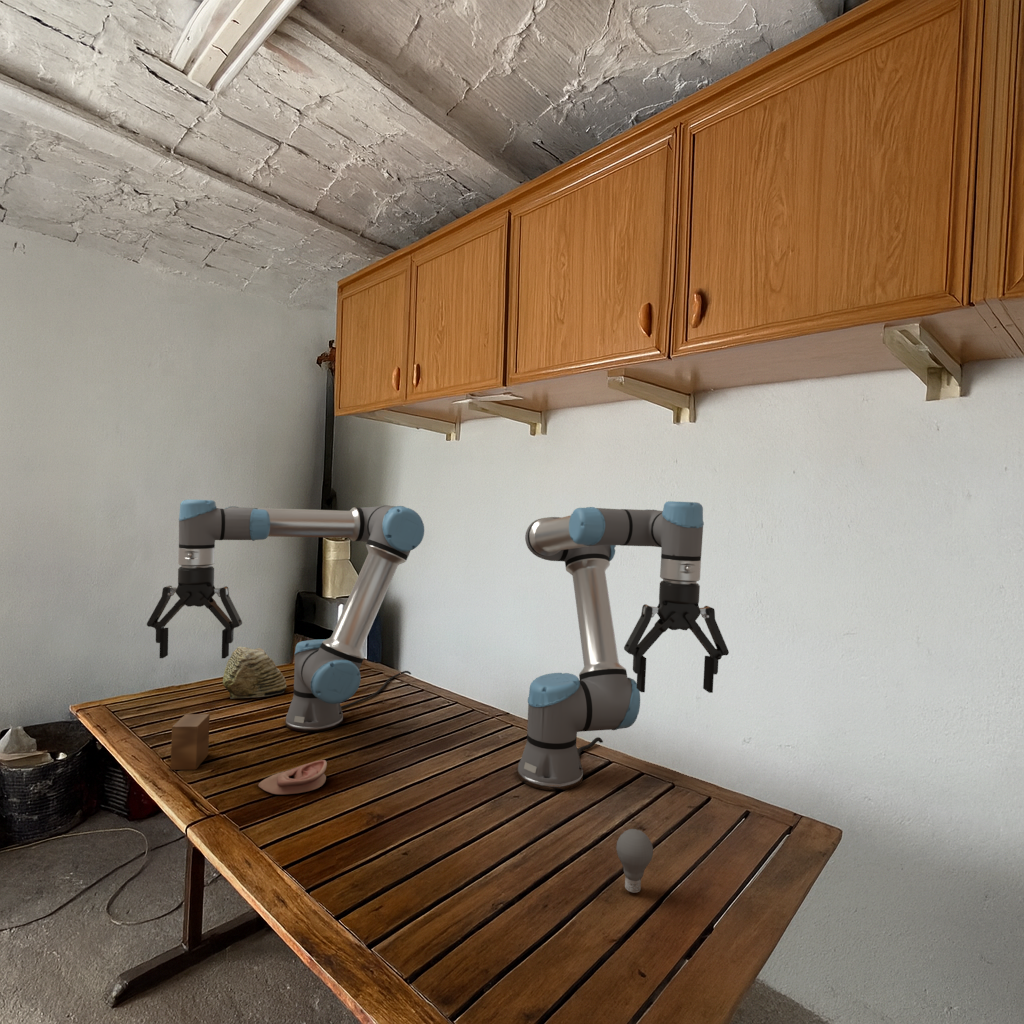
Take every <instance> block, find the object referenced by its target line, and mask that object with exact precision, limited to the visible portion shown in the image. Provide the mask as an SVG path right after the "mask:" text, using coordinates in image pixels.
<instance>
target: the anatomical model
mask: <svg viewBox="0 0 1024 1024" xmlns="http://www.w3.org/2000/svg"><path fill="white" fill-rule="evenodd" d="M327 768H328V763H327V760H325V759H320V760H315V761H312V762H308V763H305V764H302V765H299V766H297V767H294V768H291V769H288V770H286V771H281V772H278V773H275V774H273V775H270V776H267V777H266V778H264V779H263V780H261V781H260V782H259V783H258V784H257V786H258V787H259V788H260V789H261V790H263V791H264V792H267V793H269V794H271V795H295V794H301V793H306V792H307V793H308V792H310V791H315V790H317V789H319V788H320V787H322V786H323V785H324V784H325V783H326V780H327V776H326V774H325V772H326V770H327Z"/></svg>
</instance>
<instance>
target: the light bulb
mask: <svg viewBox="0 0 1024 1024" xmlns="http://www.w3.org/2000/svg"><path fill="white" fill-rule="evenodd" d="M615 849H616V854H617V857H618V859H619V861H620V863H621V865H622V867H623V873H624V874H623V875H624V876H625V878H624V888H625V890H627V891H628V892H630V893H634V894H635V893H639V892H640V891H641V889H642V887H641V886H642V879H643V877H644V875H645V871H646V868H647V867H648V866H649V864H650V863H651V861H652V859H653V855H654V847H653V843H652V841H651V838H649V836H648V835H647V834H646V833H645V832H643V831H642V830H641V829H636V828H629V829H627V830H625V831H623V832H622V833H621V834H620V835H619V837H618V839H617V841H616V847H615Z"/></svg>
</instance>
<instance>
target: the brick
mask: <svg viewBox="0 0 1024 1024" xmlns="http://www.w3.org/2000/svg"><path fill="white" fill-rule="evenodd" d="M210 716H211V715H210V713H185V714H184V715H183V716H182V717H181V718H180V719H178V720H177V721H176V722H175V724H173V725H172V726H171V743H170V744H171V745H170V771H180V770H181V771H183V770H184V771H189V770H190V771H192V770H193V771H194V770H197V769H198V768H199V766H200V765H201V764H202V763H203V762H204V761H205V759H206V758H207V757H208V756H209V748H210V747H209V743H210Z"/></svg>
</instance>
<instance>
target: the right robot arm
mask: <svg viewBox="0 0 1024 1024" xmlns="http://www.w3.org/2000/svg"><path fill="white" fill-rule="evenodd" d="M704 525H705V522H704V507H703V505H702V504H701V503H700V502H695V501H672V500H671V501H666V502H665V503H664V504H663V509H662V510H657V509H634V508H633V509H632V508H631V509H629V508H604V507H603V508H602V507H594V506H585V507H577V508H575V509H573V511H572V513H571V514H570V515H566V516H561V517H559V516H548V517H541V518H538V519H536V520H534V521H532V522H531V523H530V524H529V525H528V527H527V529H526V531H525V536H524V538H525V539H524V541H525V545H526V547H527V549H528V550H529V552H530V553H532V554H533V555H534V556H536V557H537V558H538V559H539V558H540V559H542V560H544V561H550V562H564V564H565V571H566V572H567V573H568V574H570V575H571V576H572V582H573V583H572V584H573V589H574V598H575V606H576V613H577V621H578V629H579V638H580V644H581V653H582V660H583V668H582V669H581V671H580V672H579V673H578V676H577V675H576V674H574V673H569V672H564V673H562V672H551V673H546V674H543V675H540V676H537V677H535V678H534V679H532V681H531V682H530V685H529V690H528V697H527V726H526V727H527V729H526V741H525V742H526V743H525V745H524V748H523V752H522V755H521V758H520V760H519V761H518V765H517V777H518V779H519V780H520V782H522V783H524V785H527V786H529V787H532V788H535V789H539V790H544V791H565V790H569V789H570V790H571V789H574V788H576V787H578V786H579V785H581V784H582V782H583V779H584V778H583V777H584V769H583V766H582V762H581V758H580V756H581V754H582V752H583V751H586V750H589V749H591V748H592V747H593V746H594V745H596V744H597V743H600V744H601V743H602V744H603V743H604V740H603V739H602V738H601V737H599V736H596V737H595V738H594V739H593V740H592V741H591V742H590V743H588V744H586V745H583V746H580V747H579V748H578V746H577V738H578V737H577V736H578V733H579V732H580V733H581V732H591V731H592V732H596V731H610V730H611V731H617V730H622V729H627V728H630V727H632V726H633V725H634V724H635V722H636V721H637V719H638V715H639V713H640V709H641V693H645V692H646V678H647V677H646V676H647V675H646V674H647V658H646V657H645V656H644V655H645V654H646V653H647V652H648V650H649V649H650V648H651V647H652V646H653V645H654V643H655V642H656V641H657V640H658V639H659V638H660V637H661V636H662V634H663V633H665V632H667V631H668V630H671V631H677V630H681V631H688V630H690V631H691V632H692V634H693V635H694V636H695V637H696V639H697V640H698V641H699V643H700V644H701V646H702V647H703V648H704V650H705V651H706V652H707V654H708V655H704V662H703V663H704V664H703V683H702V684H703V685H702V689H703V690H704V691H706V692H707V693H709V694H713V693H714V676H715V675H718V674H719V661H720V660H721V659H722V657H723V656H728V655H729V654H730V650H729V648H728V647H727V643H726V641H725V639H724V637H723V634H722V632H721V629H720V627H719V625H718V622H717V620H716V612H715V611H716V610H715V608H714V607H711V606H709V605H705V606H703V607H700V605H699V603H700V588H701V585H700V584H699V583H698V582H699V581H701V568H702V549H703V535H704V534H703V533H704ZM617 546H623V547H624V546H626V547H654V548H655V547H656V548H661V552H660V553H661V554H660V571H659V578H660V579H662V580H661V581H659V589H658V605H657V606H652V605H649V604H647V603H646V604H643V605H642V607H641V614H640V617H639V618H638V620H637V622H636V624H635V625H634V627H633V629H632V631H631V633H630V635H629V637H628V639H627V640H626V643H625V644H624V646H623V650H624V651H625V652H626V653H628V654H629V655H632V671H633V673H635V674H636V680H635V679H634V678H631V677H628V672H627V668H626V667H624V666H623V665H622V664H621V663H620V661H619V655H618V648H617V647H618V646H617V641H616V633H615V629H614V621H613V613H612V609H611V601H610V595H609V588H608V581H607V580H608V579H607V574H606V571H607V570H608V568H609V567H610V565H611V561H612V560H613V559H614V557H615V555H616V549H615V548H616V547H617ZM656 614H657V616H658V617H659V618H658V619H657V621H656V622H655V623H654V625H653V627H651V629H650V630H649V631H648V632H647V634H646V635H644V634H645V632H646V630H647V628H648V626H649V625H650V623H651V620H652V618H654V617H655V615H656ZM700 616H701V617H702V618H703V619H704V622H705V624H706V627H707V629H708V631H709V634H710V636H711V639H712V641H713V643H714V645H715V646H714V645H713V643H712V642H711V640H710V639H709V638H708V637H707V635H706V634H705V632H704V631H703V630H702V628H701V626H700V625H699V624H698V623H697V619H698V618H699V617H700ZM643 636H644V637H643ZM642 637H643V638H642Z"/></svg>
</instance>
